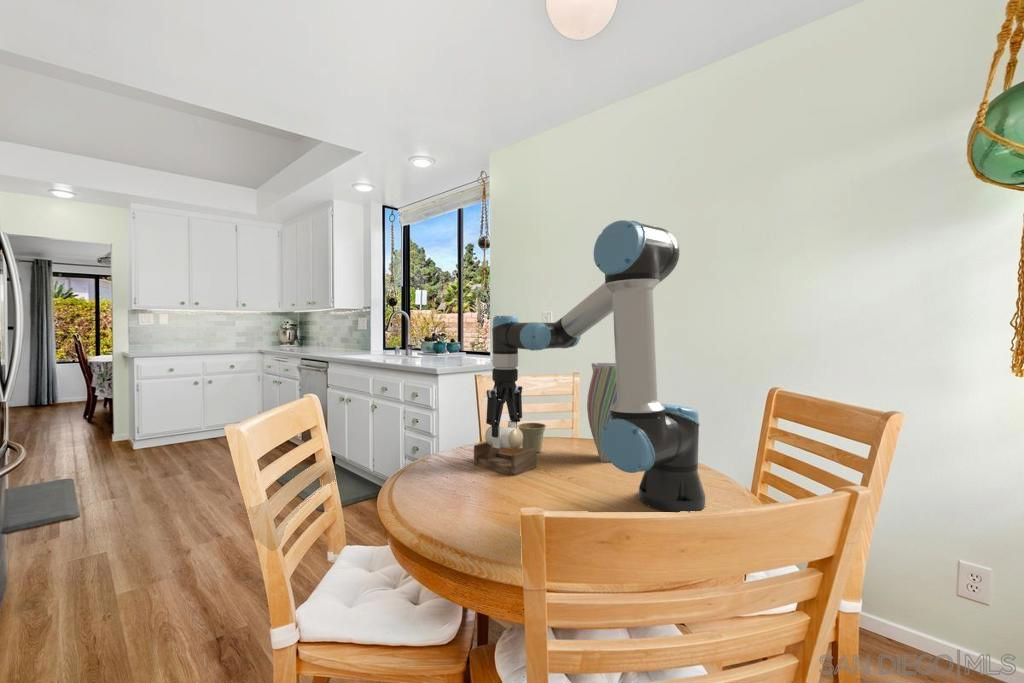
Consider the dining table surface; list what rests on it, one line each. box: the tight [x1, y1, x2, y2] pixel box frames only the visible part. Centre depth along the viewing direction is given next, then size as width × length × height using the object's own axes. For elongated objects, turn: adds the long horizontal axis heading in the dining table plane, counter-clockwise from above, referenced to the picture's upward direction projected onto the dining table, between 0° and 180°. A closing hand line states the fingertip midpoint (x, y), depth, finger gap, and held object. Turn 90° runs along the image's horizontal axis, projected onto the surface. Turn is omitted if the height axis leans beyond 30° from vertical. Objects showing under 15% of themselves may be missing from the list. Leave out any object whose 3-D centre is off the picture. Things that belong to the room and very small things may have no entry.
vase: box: [586, 362, 617, 463], centre depth 144 cm, size 14×14×30 cm
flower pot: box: [517, 422, 547, 453], centre depth 154 cm, size 9×9×9 cm
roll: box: [484, 425, 523, 450], centre depth 138 cm, size 10×6×6 cm, turn 47°
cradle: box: [473, 441, 538, 477], centre depth 138 cm, size 16×10×6 cm, turn 49°
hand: (504, 445), depth 138 cm, fingers closed on roll, 6 cm apart
